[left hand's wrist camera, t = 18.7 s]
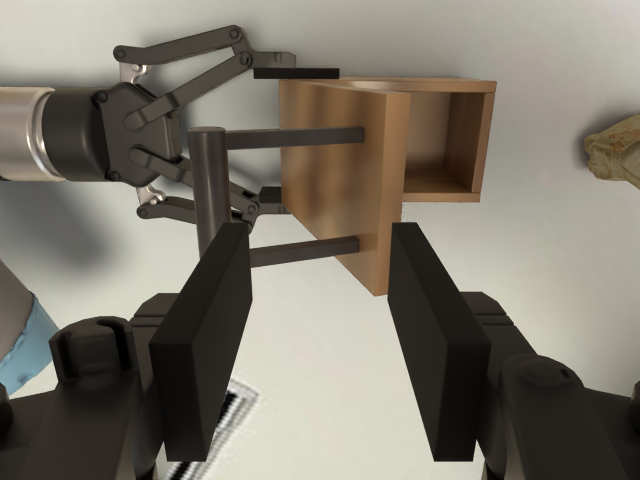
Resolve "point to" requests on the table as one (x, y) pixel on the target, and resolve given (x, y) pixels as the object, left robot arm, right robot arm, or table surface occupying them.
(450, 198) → the chest
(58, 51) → the table surface
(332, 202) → the lid
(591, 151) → the sculpture
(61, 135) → the right robot arm
